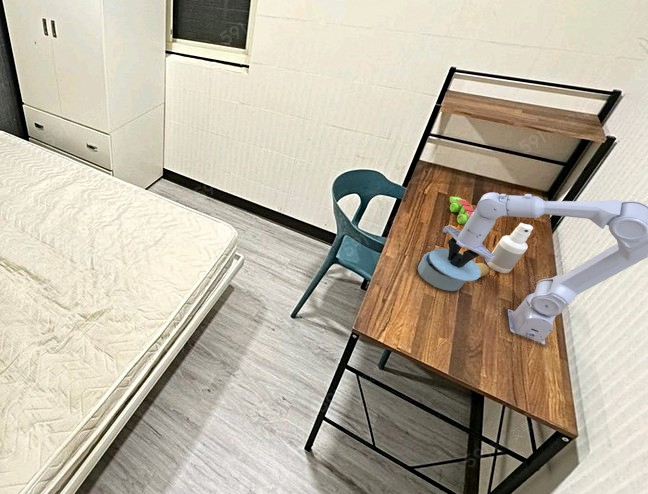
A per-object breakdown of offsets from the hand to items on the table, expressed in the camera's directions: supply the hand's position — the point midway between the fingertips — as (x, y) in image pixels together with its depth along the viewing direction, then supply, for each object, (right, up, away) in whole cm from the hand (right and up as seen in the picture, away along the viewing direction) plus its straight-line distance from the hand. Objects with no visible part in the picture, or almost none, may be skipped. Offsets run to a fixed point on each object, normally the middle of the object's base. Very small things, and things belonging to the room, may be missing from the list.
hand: (455, 262), depth 126 cm
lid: (0, -1, 0) cm, 1 cm away
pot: (0, -6, +8) cm, 10 cm away
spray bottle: (+24, -4, +12) cm, 27 cm away
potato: (+13, -6, +9) cm, 17 cm away
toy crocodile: (+29, +11, +34) cm, 46 cm away
